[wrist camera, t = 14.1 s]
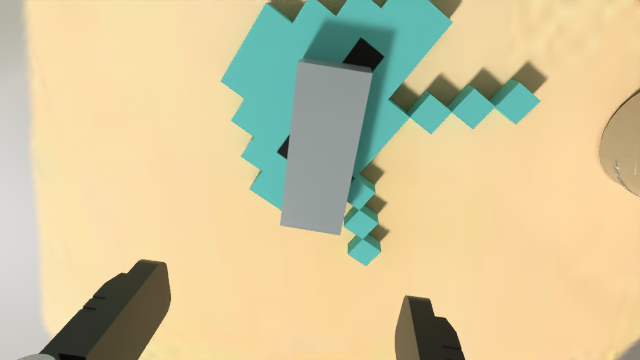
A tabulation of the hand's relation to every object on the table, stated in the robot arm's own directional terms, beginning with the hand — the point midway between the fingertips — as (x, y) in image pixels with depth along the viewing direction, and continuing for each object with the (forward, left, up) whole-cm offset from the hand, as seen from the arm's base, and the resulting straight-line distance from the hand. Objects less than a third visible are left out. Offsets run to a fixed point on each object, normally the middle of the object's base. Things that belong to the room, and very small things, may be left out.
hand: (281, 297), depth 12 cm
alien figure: (-2, +1, -20) cm, 21 cm away
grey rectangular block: (+1, +1, -17) cm, 17 cm away
